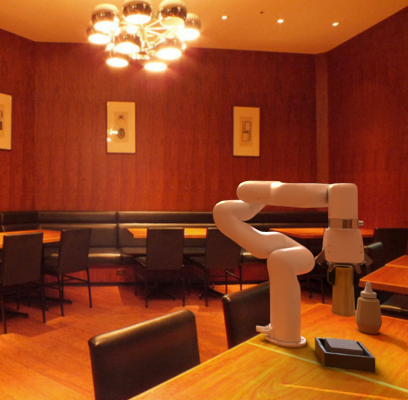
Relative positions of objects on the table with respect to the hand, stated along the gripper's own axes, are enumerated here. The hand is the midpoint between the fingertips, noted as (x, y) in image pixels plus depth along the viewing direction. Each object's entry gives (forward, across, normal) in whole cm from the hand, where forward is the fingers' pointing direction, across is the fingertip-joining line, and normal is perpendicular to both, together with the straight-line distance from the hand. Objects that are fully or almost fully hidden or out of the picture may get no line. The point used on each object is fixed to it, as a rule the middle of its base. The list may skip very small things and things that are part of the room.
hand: (343, 284), depth 113 cm
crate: (+23, 0, 0) cm, 23 cm away
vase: (+9, 0, 0) cm, 9 cm away
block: (+23, 0, 0) cm, 23 cm away
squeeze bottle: (+23, -16, -30) cm, 41 cm away
